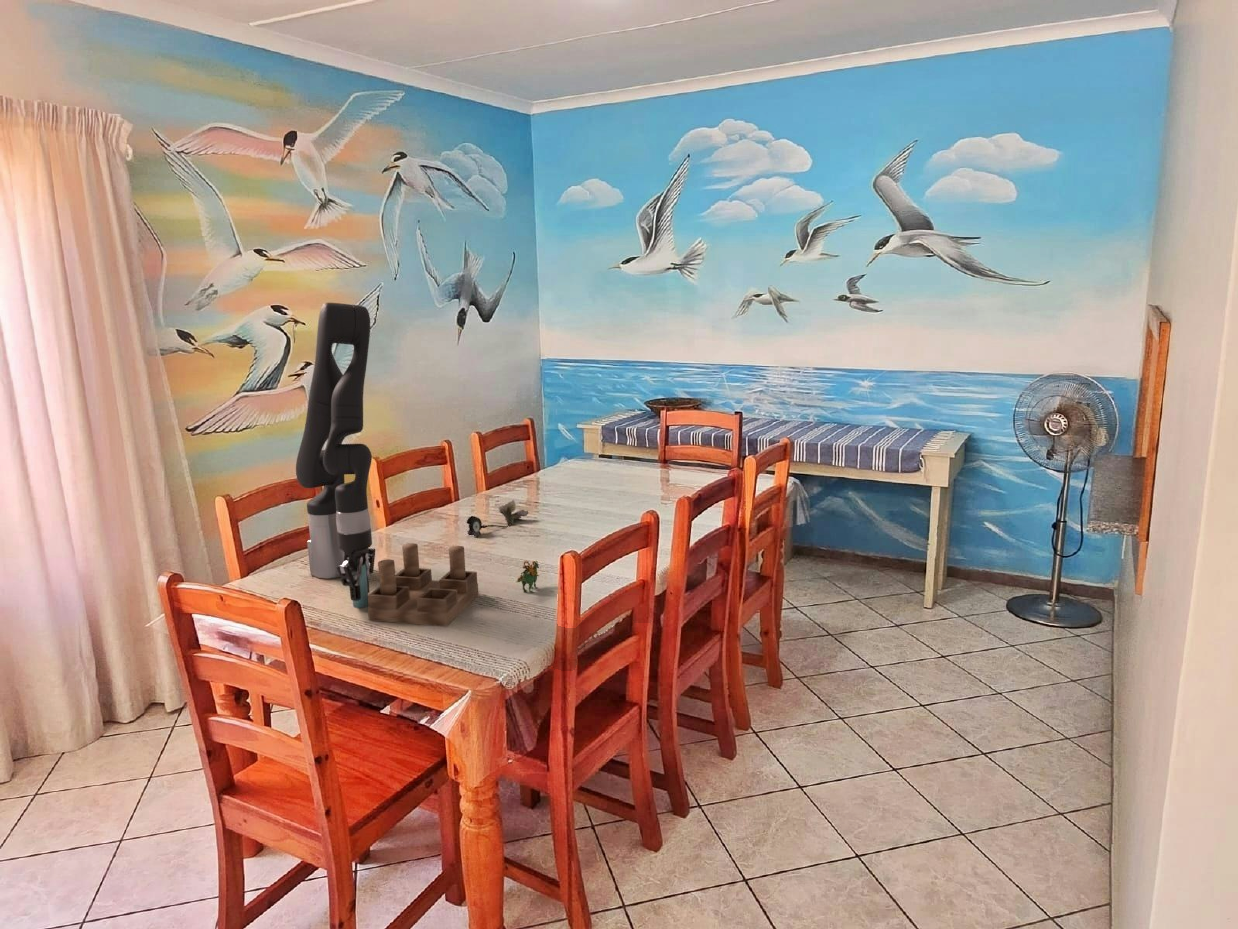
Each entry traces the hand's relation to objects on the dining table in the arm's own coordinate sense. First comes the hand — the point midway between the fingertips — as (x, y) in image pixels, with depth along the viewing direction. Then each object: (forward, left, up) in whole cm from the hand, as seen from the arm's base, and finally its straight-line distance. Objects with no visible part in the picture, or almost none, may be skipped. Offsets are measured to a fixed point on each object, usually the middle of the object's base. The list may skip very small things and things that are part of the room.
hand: (360, 596), depth 195 cm
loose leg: (0, 0, -2) cm, 2 cm away
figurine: (+37, +15, -2) cm, 40 cm away
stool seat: (+16, +2, -2) cm, 16 cm away
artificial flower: (+10, +66, -3) cm, 66 cm away
